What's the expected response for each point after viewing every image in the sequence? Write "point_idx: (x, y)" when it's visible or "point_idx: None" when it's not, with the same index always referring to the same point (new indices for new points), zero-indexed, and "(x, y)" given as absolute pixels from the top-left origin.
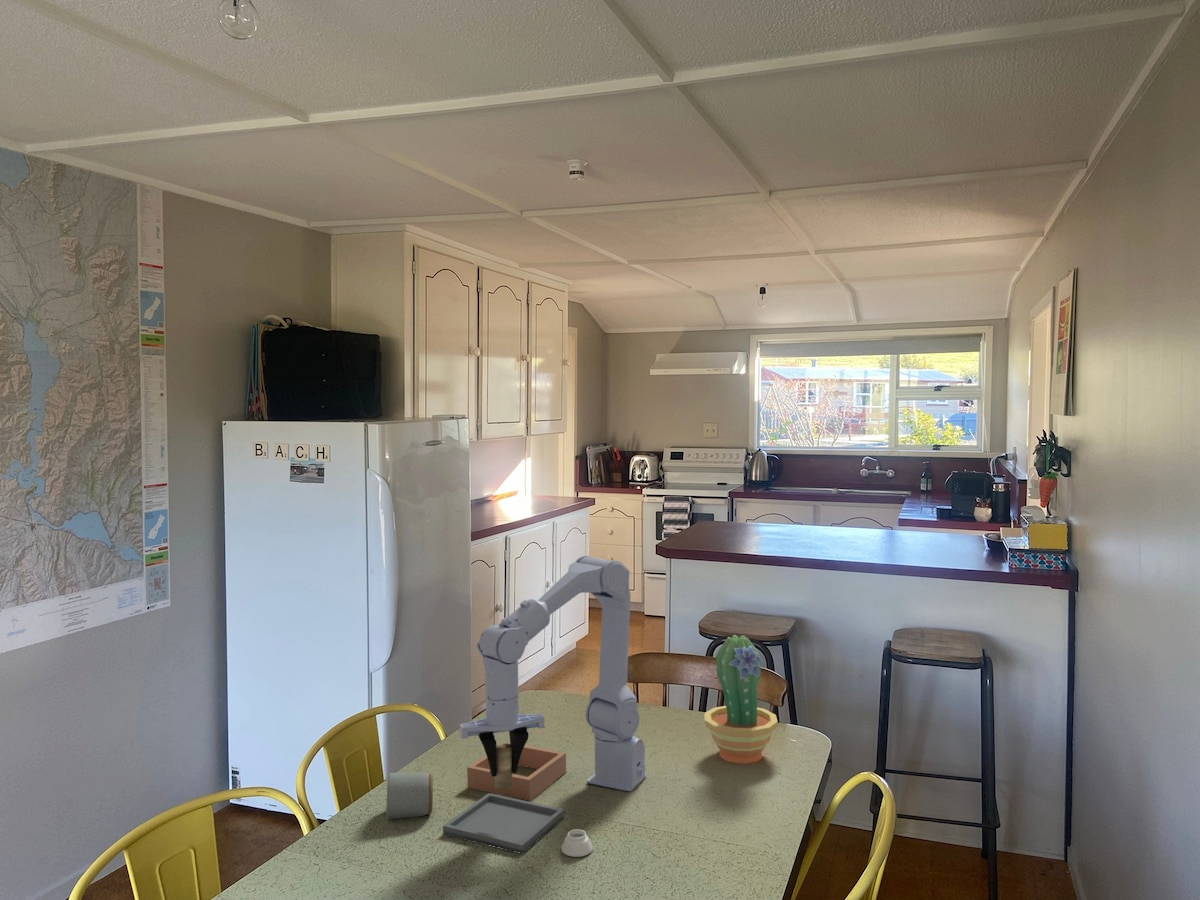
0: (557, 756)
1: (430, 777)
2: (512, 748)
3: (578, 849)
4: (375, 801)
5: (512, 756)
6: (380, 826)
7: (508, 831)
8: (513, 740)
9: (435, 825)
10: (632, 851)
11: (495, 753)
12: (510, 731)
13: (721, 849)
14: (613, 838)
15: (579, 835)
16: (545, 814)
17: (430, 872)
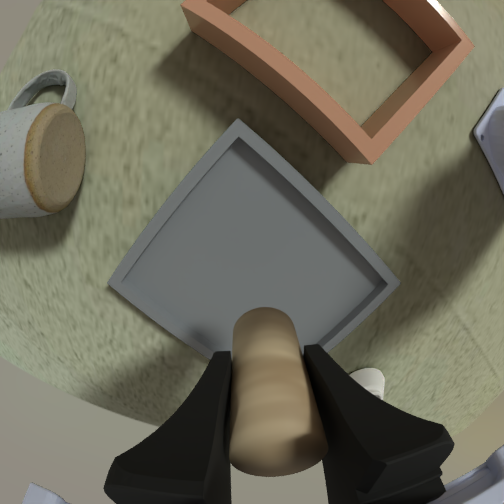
0: (458, 50)
1: (28, 172)
2: (329, 437)
3: None
4: (6, 89)
5: (319, 411)
6: None
7: None
8: (335, 492)
9: (96, 226)
10: (419, 390)
11: (229, 476)
12: (357, 482)
13: (482, 385)
14: (421, 359)
15: (377, 380)
16: (361, 267)
17: (115, 384)
